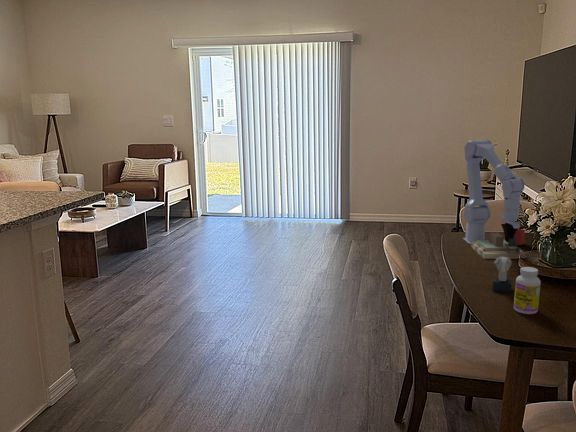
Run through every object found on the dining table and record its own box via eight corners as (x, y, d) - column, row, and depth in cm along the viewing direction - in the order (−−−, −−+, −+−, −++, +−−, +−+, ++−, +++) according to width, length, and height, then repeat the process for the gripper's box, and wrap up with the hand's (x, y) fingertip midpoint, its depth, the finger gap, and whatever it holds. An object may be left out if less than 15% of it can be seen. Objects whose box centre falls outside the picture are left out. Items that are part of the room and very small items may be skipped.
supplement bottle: (509, 310, 160) (512, 269, 158) (519, 304, 165) (522, 264, 162) (532, 316, 156) (536, 274, 153) (541, 310, 160) (545, 269, 158)
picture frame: (470, 246, 230) (471, 237, 229) (509, 246, 229) (509, 237, 228) (483, 258, 212) (484, 248, 211) (525, 258, 211) (526, 248, 210)
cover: (476, 242, 228) (477, 230, 227) (505, 242, 227) (506, 230, 226) (485, 250, 216) (486, 238, 215) (516, 250, 216) (516, 238, 215)
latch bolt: (505, 245, 218) (505, 235, 217) (511, 245, 217) (511, 235, 217) (509, 249, 213) (510, 238, 212) (515, 249, 213) (516, 238, 212)
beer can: (520, 241, 235) (523, 214, 233) (525, 245, 229) (528, 218, 226) (505, 241, 236) (507, 214, 233) (509, 245, 230) (511, 218, 227)
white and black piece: (510, 286, 181) (512, 254, 178) (510, 294, 173) (513, 261, 171) (492, 284, 183) (494, 253, 180) (492, 292, 175) (494, 260, 173)
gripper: (494, 205, 221) (492, 237, 224) (507, 212, 207) (504, 246, 210) (512, 205, 221) (510, 237, 224) (526, 212, 207) (523, 246, 210)
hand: (508, 241), depth 217 cm, fingers closed
